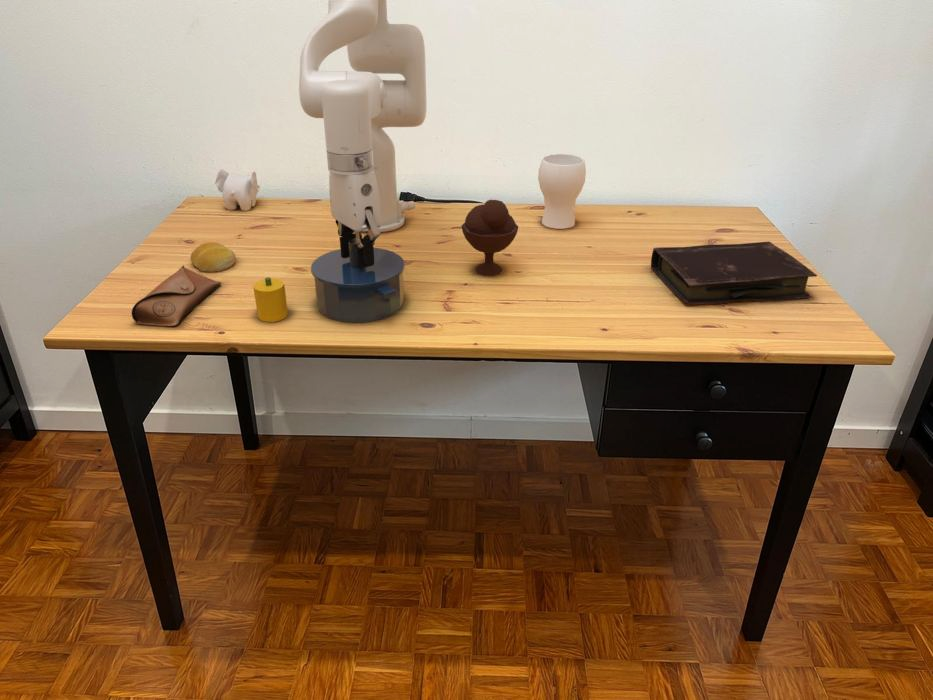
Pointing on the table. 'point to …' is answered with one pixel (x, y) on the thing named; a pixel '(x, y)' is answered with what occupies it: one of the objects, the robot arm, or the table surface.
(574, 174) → the cup
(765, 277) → the diary
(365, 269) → the lid
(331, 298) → the pan
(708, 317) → the table surface
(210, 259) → the bread roll
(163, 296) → the sunglasses case
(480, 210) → the ice cream bowl
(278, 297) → the yellow cylinder with peg
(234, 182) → the elephant figurine
